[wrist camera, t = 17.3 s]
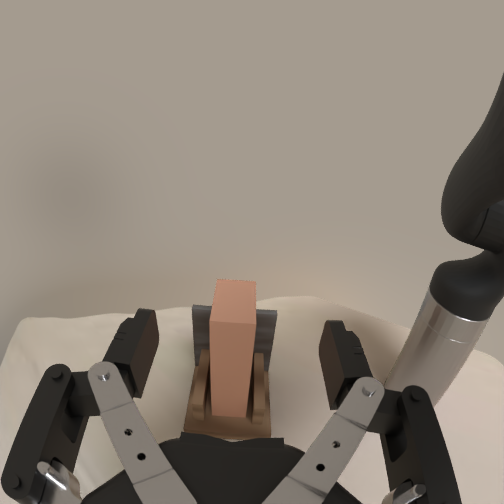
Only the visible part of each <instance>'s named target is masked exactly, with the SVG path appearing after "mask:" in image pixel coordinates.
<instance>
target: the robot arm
mask: <svg viewBox="0 0 504 504" xmlns="http://www.w3.org/2000/svg"><path fill="white" fill-rule="evenodd" d="M441 215H442V221H443V224H444V227H445V229H446V230H447V232H448V233H449V234H450V235H451V236H452V237H454V238H456V239H457V240H459V241H462V242H464V243H467V244H470V245H473V246H476V247H479V248H482V249H484V251H483V252H482V253H481V254H479V255H477V256H475V257H473V258H469V259H465V260H455V261H448V262H444V263H442V264H440V265H439V266H438V267H437V269H436V270H435V272H434V274H433V277H432V280H431V283H430V286H429V288H428V291H427V293H426V296H425V299H424V301H423V303H422V306H421V309H420V311H419V313H418V316H417V318H416V320H415V323H414V325H413V327H412V329H411V332H410V334H409V336H408V338H407V340H406V342H405V345H404V347H403V349H402V351H401V353H400V355H399V357H398V359H397V361H396V363H395V365H394V366H393V368H392V370H391V372H390V374H389V376H388V378H387V380H386V382H385V384H384V387H383V385H382V384H381V383H380V382H379V381H378V380H377V379H375V378H373V376H372V373H371V370H370V368H369V365H368V362H367V359H366V357H365V354H364V351H363V348H362V346H361V343H360V340H359V338H358V337H357V336H356V335H355V334H354V333H353V332H352V331H346V329H345V326H344V323H343V321H337V320H327V321H326V322H325V326H324V329H323V333H322V337H321V340H320V344H319V358H320V362H321V367H322V372H323V376H324V381H325V386H326V391H327V396H328V401H329V406H330V410H337V409H338V410H337V412H336V413H334V414H333V416H332V417H331V419H330V420H329V421H328V423H327V424H326V426H325V427H324V429H323V430H322V431H321V433H320V434H319V436H318V437H317V438H316V440H315V441H314V442H313V444H312V445H311V446H310V448H309V449H308V450H307V452H306V453H305V452H303V451H301V450H300V449H297V448H295V447H293V446H289V445H285V444H284V438H254V439H249V440H243V441H237V442H229V441H226V440H222V439H219V438H215V437H212V436H209V435H205V434H196V433H187V432H181V436H180V438H176V439H171V440H168V441H165V442H162V443H160V444H157V442H156V440H155V439H154V437H153V435H152V434H151V432H150V430H149V428H148V427H147V425H146V423H145V421H144V419H143V417H142V416H141V414H140V412H139V410H138V408H137V406H136V404H135V402H134V401H133V397H136V398H141V397H142V394H143V391H144V387H145V384H146V381H147V378H148V375H149V372H150V369H151V366H152V363H153V360H154V357H155V354H156V351H157V348H158V344H159V331H158V325H157V319H156V313H155V311H154V310H149V309H140V308H139V309H138V310H137V312H136V314H135V316H134V318H127V319H126V320H125V321H124V322H122V323H121V324H120V326H119V328H118V330H117V333H116V334H115V336H114V339H113V340H112V342H111V344H110V346H109V348H108V350H107V352H106V354H105V356H104V359H103V361H102V362H99V363H96V364H94V365H93V366H92V367H91V368H90V369H89V371H85V372H71V371H70V369H69V367H67V366H66V365H64V364H55V365H52V366H50V367H49V368H48V369H47V370H46V371H45V373H44V375H43V377H42V379H41V381H40V383H39V385H38V387H37V389H36V391H35V393H34V396H33V398H32V400H31V402H30V404H29V407H28V409H27V411H26V413H25V416H24V418H23V420H22V423H21V425H20V427H19V430H18V432H17V435H16V437H15V440H14V442H13V445H12V448H11V450H10V453H9V456H8V459H7V461H6V464H5V467H4V470H3V473H2V477H1V485H2V488H3V490H4V492H5V493H6V494H7V495H8V496H9V497H11V498H12V499H14V500H15V501H17V502H18V503H20V504H362V503H361V502H360V501H359V500H357V499H356V498H355V497H354V496H353V495H352V494H350V493H349V492H348V491H347V490H346V489H345V488H344V487H342V486H341V485H340V484H339V483H338V482H337V479H338V478H339V476H340V475H341V473H342V472H343V470H344V469H345V467H346V465H347V464H348V462H349V461H350V459H351V457H352V456H353V454H354V452H355V451H356V449H357V447H358V445H359V444H360V442H361V440H362V438H363V437H364V435H365V433H366V431H368V432H374V433H379V434H380V439H381V444H382V449H383V454H384V459H385V464H386V470H387V476H388V482H389V488H390V493H388V494H387V495H386V496H385V497H384V499H383V501H382V504H462V502H461V498H460V494H459V490H458V486H457V482H456V478H455V474H454V471H453V467H452V463H451V460H450V457H449V453H448V450H447V447H446V444H445V441H444V437H443V434H442V431H441V428H440V425H439V422H438V420H437V417H436V414H435V411H434V407H435V405H436V404H437V403H438V401H439V400H440V399H441V397H442V396H443V394H444V393H445V392H446V390H447V389H448V388H449V386H450V385H451V383H452V382H453V380H454V379H455V377H456V376H457V374H458V373H459V371H460V369H461V368H462V366H463V365H464V363H465V361H466V360H467V358H468V357H469V355H470V353H471V352H472V350H473V348H474V346H475V345H476V343H477V341H478V339H479V337H480V336H481V333H482V332H483V330H484V328H485V326H486V324H487V322H488V320H489V318H490V316H491V315H492V312H493V310H494V308H495V307H496V305H497V304H498V303H499V302H500V300H501V299H502V298H503V296H504V73H503V77H502V80H501V82H500V85H499V88H498V91H497V93H496V96H495V98H494V101H493V103H492V106H491V108H490V110H489V112H488V114H487V117H486V119H485V121H484V123H483V124H482V126H481V128H480V129H479V131H478V132H477V134H476V135H475V137H474V138H473V139H472V141H471V142H470V144H469V145H468V146H467V148H466V149H465V151H464V152H463V153H462V154H461V156H460V157H459V159H458V160H457V162H456V163H455V165H454V167H453V169H452V171H451V173H450V175H449V177H448V180H447V183H446V185H445V188H444V192H443V196H442V203H441ZM89 416H101V418H102V420H103V423H104V425H105V428H106V430H107V432H108V435H109V437H110V439H111V441H112V444H113V446H114V448H115V450H116V452H117V454H118V456H119V458H120V460H121V462H122V464H123V466H124V468H125V469H124V470H123V471H121V472H120V473H118V474H117V475H116V476H114V477H113V478H111V479H110V480H109V481H107V482H106V483H104V484H103V485H101V486H100V487H98V488H97V489H95V490H94V491H92V492H91V493H89V494H88V495H87V496H86V497H85V498H84V499H83V500H82V498H81V496H80V484H79V481H78V479H77V478H76V477H75V476H74V475H73V471H74V467H75V463H76V460H77V456H78V452H79V449H80V445H81V442H82V439H83V435H84V432H85V429H86V425H87V422H88V419H89Z"/></svg>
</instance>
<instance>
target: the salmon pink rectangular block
mask: <svg viewBox="0 0 504 504" xmlns="http://www.w3.org/2000/svg"><path fill="white" fill-rule="evenodd" d="M209 324H210V375H211V404H212V415H215V416H228V417H245V418H246V411H247V402H248V394H249V385H250V376H251V367H252V359H253V350H254V341H255V331H256V282H255V281H241V280H226V279H217V283H216V289H215V294H214V299H213V304H212V310H211V315H210V321H209Z"/></svg>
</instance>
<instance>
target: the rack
mask: <svg viewBox="0 0 504 504" xmlns="http://www.w3.org/2000/svg"><path fill="white" fill-rule="evenodd" d="M211 310H212V306H202V305H193V307H192V320H193V338H194V354H195V370H194V375H193V381H192V386H191V391H190V396H189V402H188V407H187V413H186V418H185V424H184V432H187V433H196V434H205V435H209V436H212V437H215V438H223V439H239V440H249V439H254V438H270V437H271V423H270V400H269V378H268V369H269V363H270V357H271V351H272V345H273V339H274V332H275V326H276V320H277V310H259V309H256V331H255V341H254V350H253V359H252V367H251V376H250V385H249V394H248V402H247V411H246V418H245V417H228V416H215V415H212V404H211V375H210V324H209V321H210V315H211Z"/></svg>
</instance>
